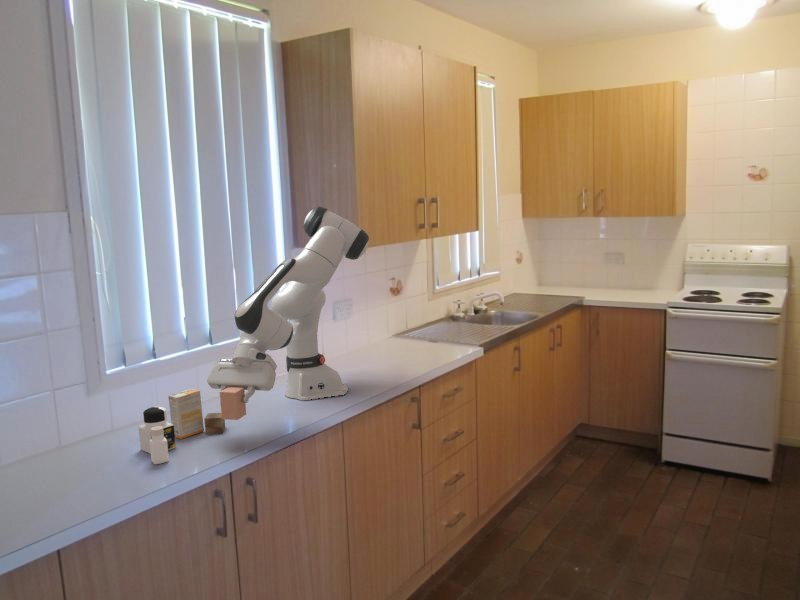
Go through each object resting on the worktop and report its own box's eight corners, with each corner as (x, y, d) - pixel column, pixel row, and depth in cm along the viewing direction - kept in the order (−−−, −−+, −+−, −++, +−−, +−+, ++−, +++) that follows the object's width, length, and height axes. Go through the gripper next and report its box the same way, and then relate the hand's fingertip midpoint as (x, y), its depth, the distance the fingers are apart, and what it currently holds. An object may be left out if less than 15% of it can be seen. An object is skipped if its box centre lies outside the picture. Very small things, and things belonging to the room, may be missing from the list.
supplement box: (195, 428, 203) (191, 387, 201) (204, 431, 200) (200, 390, 198) (171, 436, 196) (167, 394, 194) (180, 439, 193) (176, 397, 191)
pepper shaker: (166, 457, 180) (162, 424, 178) (169, 462, 176) (166, 428, 175) (150, 461, 178) (147, 427, 176) (154, 465, 174) (150, 431, 173)
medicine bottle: (153, 455, 182) (148, 414, 180) (140, 450, 186) (136, 409, 184) (176, 447, 187) (172, 407, 185) (163, 442, 192) (159, 403, 190)
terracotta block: (230, 413, 191) (228, 387, 189) (246, 414, 189) (244, 387, 188) (221, 419, 186) (219, 392, 185) (237, 419, 184) (235, 392, 183)
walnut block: (225, 427, 202) (224, 412, 202) (222, 433, 198) (221, 417, 197) (208, 429, 202) (207, 413, 201) (205, 434, 197) (204, 418, 196)
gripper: (212, 353, 195) (196, 394, 187) (274, 355, 190) (261, 397, 182) (221, 364, 200) (206, 405, 192) (282, 366, 195) (269, 408, 187)
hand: (233, 401), depth 187 cm, fingers closed on terracotta block, 5 cm apart
